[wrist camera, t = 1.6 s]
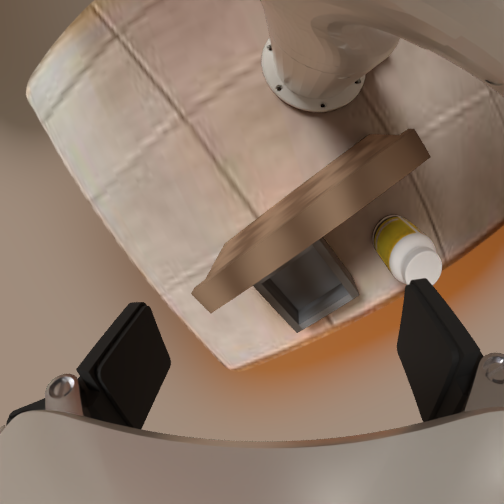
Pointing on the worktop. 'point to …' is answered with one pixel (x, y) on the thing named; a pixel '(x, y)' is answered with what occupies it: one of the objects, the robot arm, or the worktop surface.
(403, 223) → the pill bottle
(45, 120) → the worktop surface
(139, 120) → the worktop surface
